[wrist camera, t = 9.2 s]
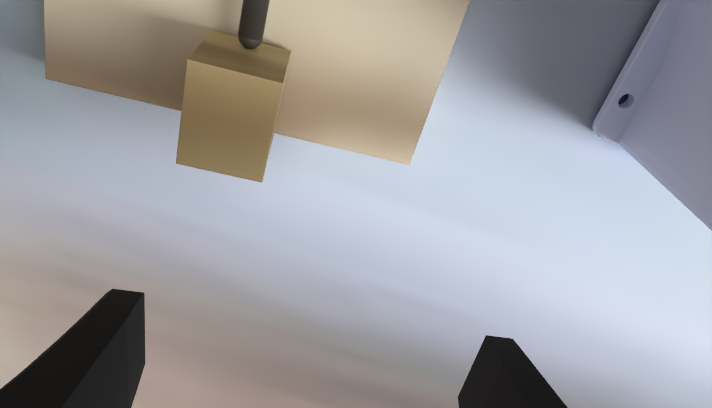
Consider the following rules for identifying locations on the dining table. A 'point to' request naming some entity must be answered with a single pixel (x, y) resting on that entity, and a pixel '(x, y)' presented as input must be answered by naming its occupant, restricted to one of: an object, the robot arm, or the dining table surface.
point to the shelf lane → (284, 30)
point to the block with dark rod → (233, 98)
